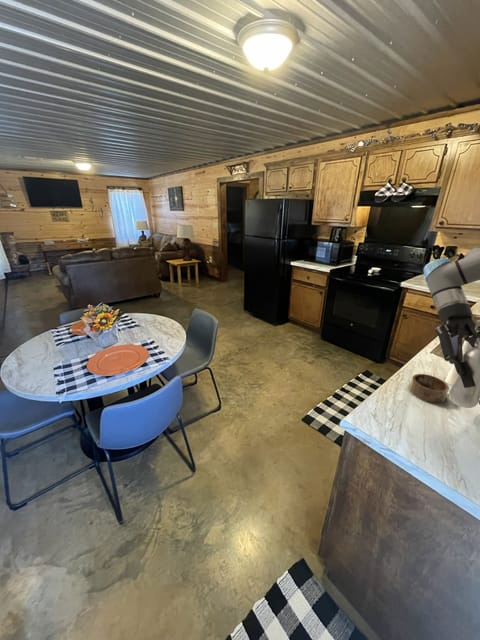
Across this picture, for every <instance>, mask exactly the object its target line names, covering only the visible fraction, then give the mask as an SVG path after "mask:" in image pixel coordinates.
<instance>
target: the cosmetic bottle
mask: <svg viewBox="0 0 480 640" xmlns="http://www.w3.org/2000/svg"><path fill="white" fill-rule="evenodd" d="M470 349H472V346H471V345H470V344H469V342H467V341H465V340H464V342H463V343H462V351H463V356H464V354H465V353H466V352H467V351H468V350H470ZM458 376H459V375H458V373H457V371H456V368H455V366H454V364H452V366H451V369H450V371H449V372H448V375H447V376H446V378H445V379H444V382H445V383H446V384H447V385H450V386H451V387H452V386H453V385H454V384H455V382H456V380H457V378H458Z"/></svg>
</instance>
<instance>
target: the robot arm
mask: <svg viewBox="0 0 480 640" xmlns="http://www.w3.org/2000/svg"><path fill="white" fill-rule="evenodd" d="M423 275H424V279H425V280H424V281H425V282H426V285H427V288H428V290H429V292H430V296H431V298H432V301H433V304H434V305H435V309H436V311H437V315H438V318H439V321H440V322H441V323H442V324H441V325H439V326H437V327H435V328H434V330H435V333H436V334H437V336H438V340H439V343H440V348H441V351H442V356H443V359H444V361H445V362H449V364H451V365H453V364H454V366H455V368H456V371H457V373H458V375H460V377H461V380H462V383H463V385H464V388H469V387H474V386H476V385H475V382H474V380H473V377H472V374H471V372H470V369H469V366H468V364H467V361H464V362H462V361H463V351H462V347H463V339H464V341H467V342H469V344H470V345H471V346H472V348H474V347H475V346H474V344H475V343H476V340H477V338H480V325H479V324H476V323H475V321H474V320H473V316H474V313H473V311H472V309H471V307H470V304H469V301H468V299H467V296H466V294H465V292H464V290H463V287H462V286H465V285H469V284H471V283H474V282H478V281H480V246H477V247H474V248H472V249H469V251H468V252H467V253H466V254H465V255H464V257H463V258H460V259H459V260H456V261H451V260H450V259H449V258H447V257H442V258H439V259H434V260H432V261H430V262H428V263H427V264H425V266H424V267H423Z"/></svg>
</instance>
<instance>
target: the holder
mask: <svg viewBox="0 0 480 640" xmlns="http://www.w3.org/2000/svg"><path fill="white" fill-rule="evenodd" d="M449 391H450V386H449V384H448V383H446V382H445V380H442V379H440V378H438V377H436V376H434V375H430V374H426V373H416V374H414V375H413V376H412V379H411V381H410V385H409V392H410V393H411V394H412V395H413V396H415V397H416V398H417V399H420V400H421V401H424V402H426V403H430V404H442V403H444V402H445V400H446V398H447V395H448V394H449V393H448V392H449Z"/></svg>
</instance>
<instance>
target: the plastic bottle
mask: <svg viewBox="0 0 480 640" xmlns="http://www.w3.org/2000/svg"><path fill="white" fill-rule="evenodd" d="M474 346H475V347H474V348H472V349H470V350H468V351H467V352H466V353H465V354H464V356H463V361H462V362H464V361H467V364H468V366H469V369H470V372H471V374H472V377H473V380H474V382H475V385H476V386H474V387H469V388H464V385H463V383H462V380H461V377H460V375H459V376H458V378H457V380H456V382H455V384H454V385H453V386H452V385H451V388H450V389H449V390H448V392H449V393H448V398H449V400H450V401H451V403H453V404H455V405H456V406H458V407H461V408H464V409H472V408H474V407H476V406H477V405H478V404H479V403H480V338H477V340H476V343H475V344H474Z"/></svg>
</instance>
